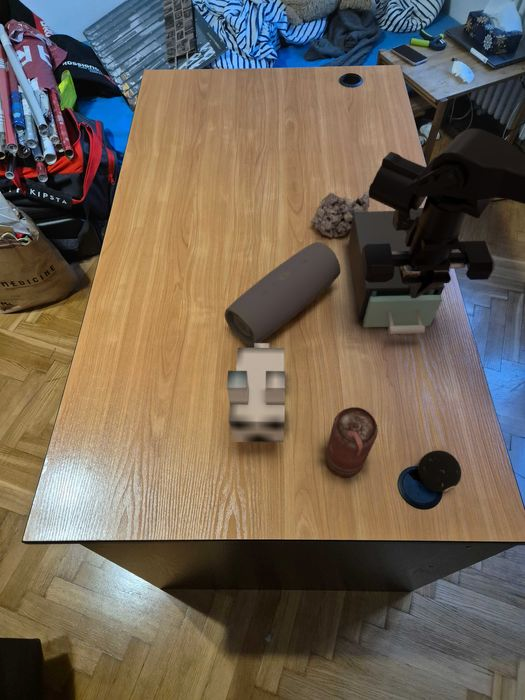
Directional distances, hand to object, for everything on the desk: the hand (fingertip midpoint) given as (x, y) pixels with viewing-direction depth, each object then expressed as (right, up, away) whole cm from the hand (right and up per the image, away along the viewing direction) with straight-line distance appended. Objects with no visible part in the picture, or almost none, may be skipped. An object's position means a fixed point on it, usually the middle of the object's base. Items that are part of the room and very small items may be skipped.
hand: (412, 296), depth 78 cm
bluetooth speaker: (-21, -1, +14) cm, 25 cm away
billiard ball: (+2, -29, -4) cm, 29 cm away
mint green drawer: (0, +1, +14) cm, 14 cm away
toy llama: (-25, -19, +3) cm, 32 cm away
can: (-12, -27, -2) cm, 29 cm away
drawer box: (0, +5, +17) cm, 18 cm away
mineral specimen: (-8, +18, +26) cm, 33 cm away
